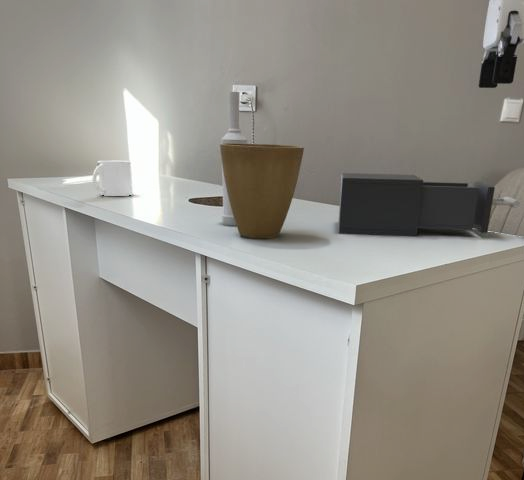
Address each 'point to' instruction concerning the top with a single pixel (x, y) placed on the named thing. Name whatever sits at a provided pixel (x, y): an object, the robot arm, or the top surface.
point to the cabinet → (380, 204)
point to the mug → (113, 178)
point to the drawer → (459, 206)
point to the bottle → (231, 137)
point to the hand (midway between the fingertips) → (494, 85)
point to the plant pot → (260, 185)
